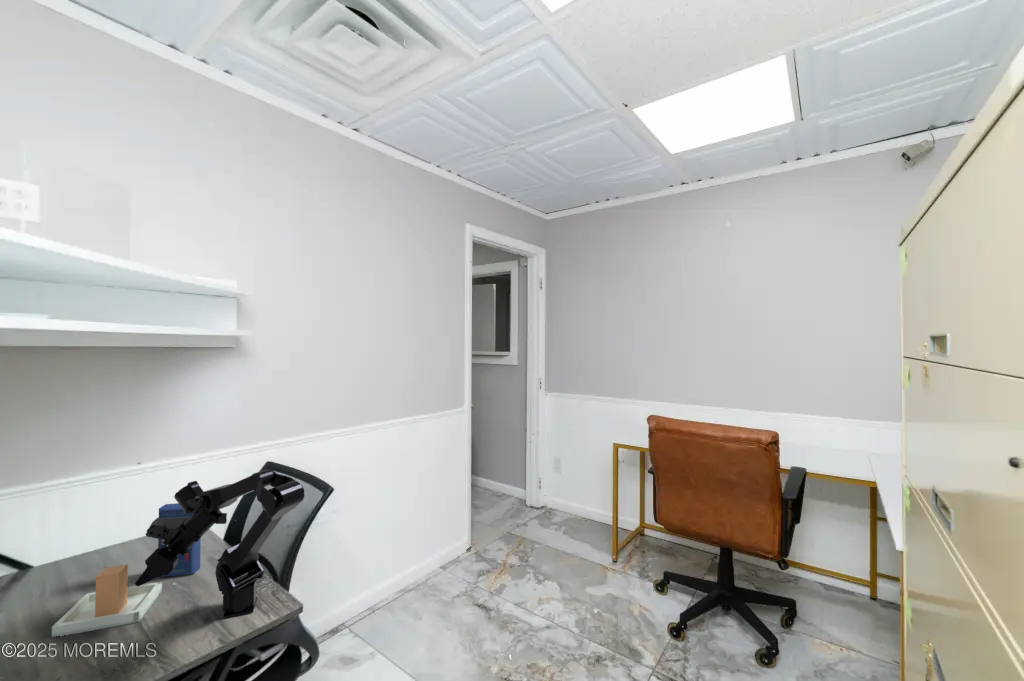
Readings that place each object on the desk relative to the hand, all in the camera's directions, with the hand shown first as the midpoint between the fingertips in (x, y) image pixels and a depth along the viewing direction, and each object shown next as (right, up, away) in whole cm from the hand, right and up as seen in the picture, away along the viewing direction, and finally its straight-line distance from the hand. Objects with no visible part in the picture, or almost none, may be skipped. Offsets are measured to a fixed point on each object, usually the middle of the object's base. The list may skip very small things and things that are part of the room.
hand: (144, 575), depth 109 cm
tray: (-6, -8, -2) cm, 10 cm away
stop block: (-6, -7, -2) cm, 10 cm away
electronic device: (-4, -8, +16) cm, 19 cm away
